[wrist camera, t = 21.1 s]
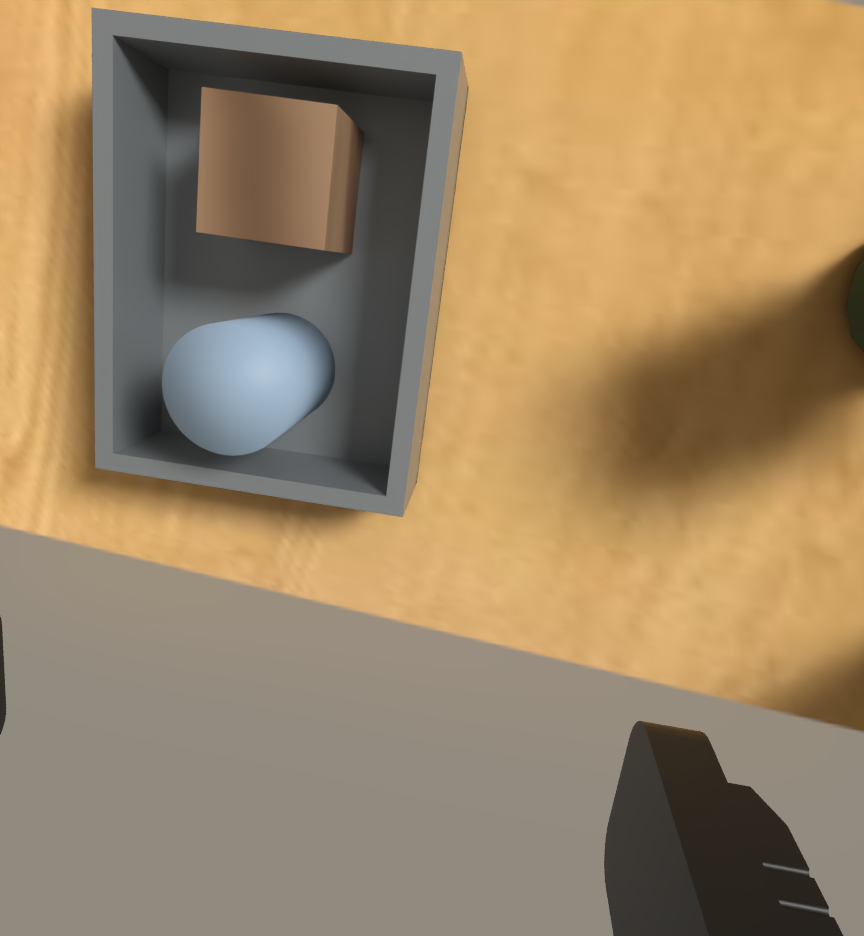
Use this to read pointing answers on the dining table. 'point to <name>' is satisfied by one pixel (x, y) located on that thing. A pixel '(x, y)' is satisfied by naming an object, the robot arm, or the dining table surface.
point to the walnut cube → (278, 170)
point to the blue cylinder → (246, 380)
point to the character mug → (857, 306)
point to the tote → (270, 251)
